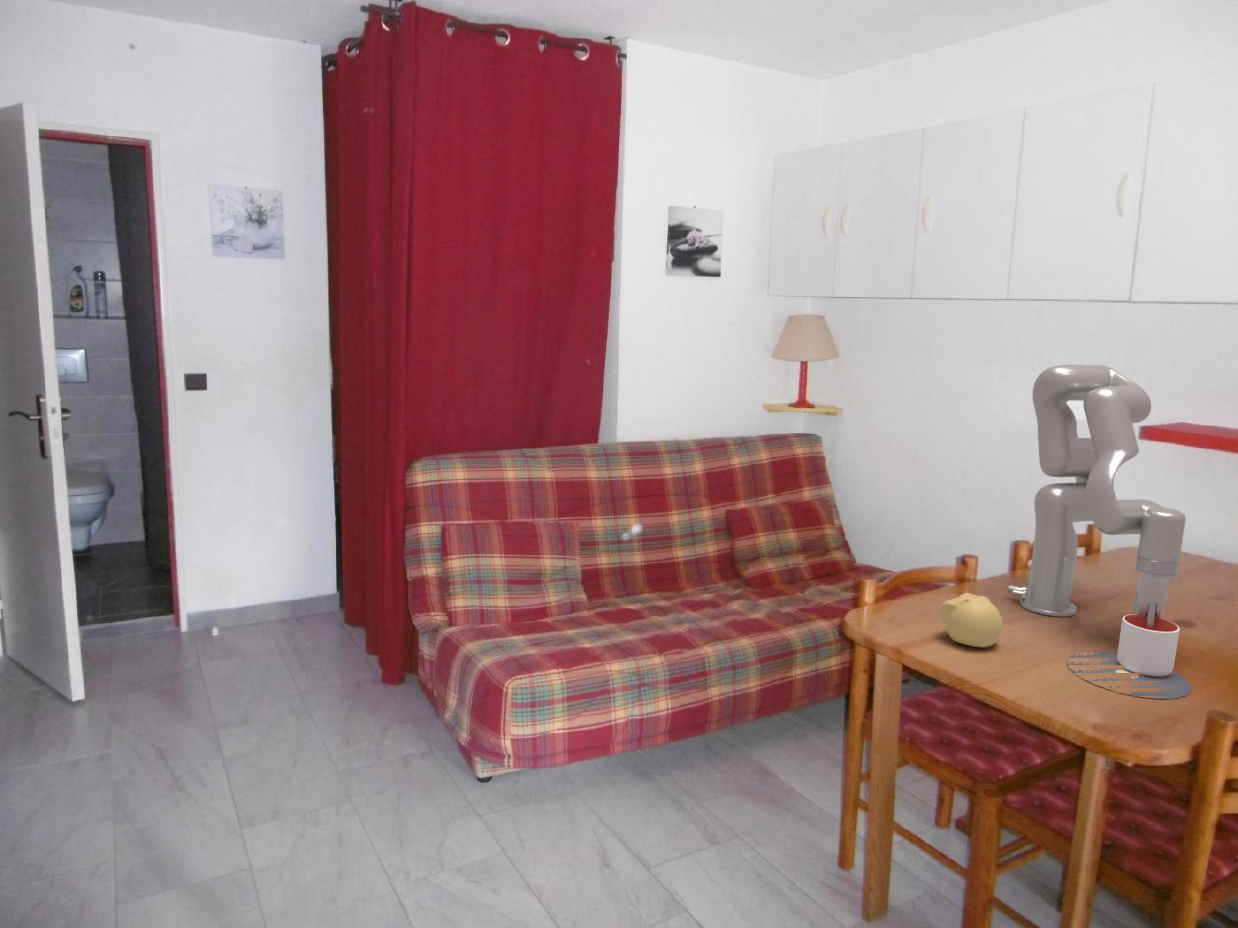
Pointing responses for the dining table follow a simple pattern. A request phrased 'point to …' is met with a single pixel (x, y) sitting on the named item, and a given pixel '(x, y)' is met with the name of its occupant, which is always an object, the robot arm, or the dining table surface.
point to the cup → (1147, 646)
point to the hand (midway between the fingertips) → (1144, 647)
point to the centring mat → (1140, 678)
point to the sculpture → (972, 620)
